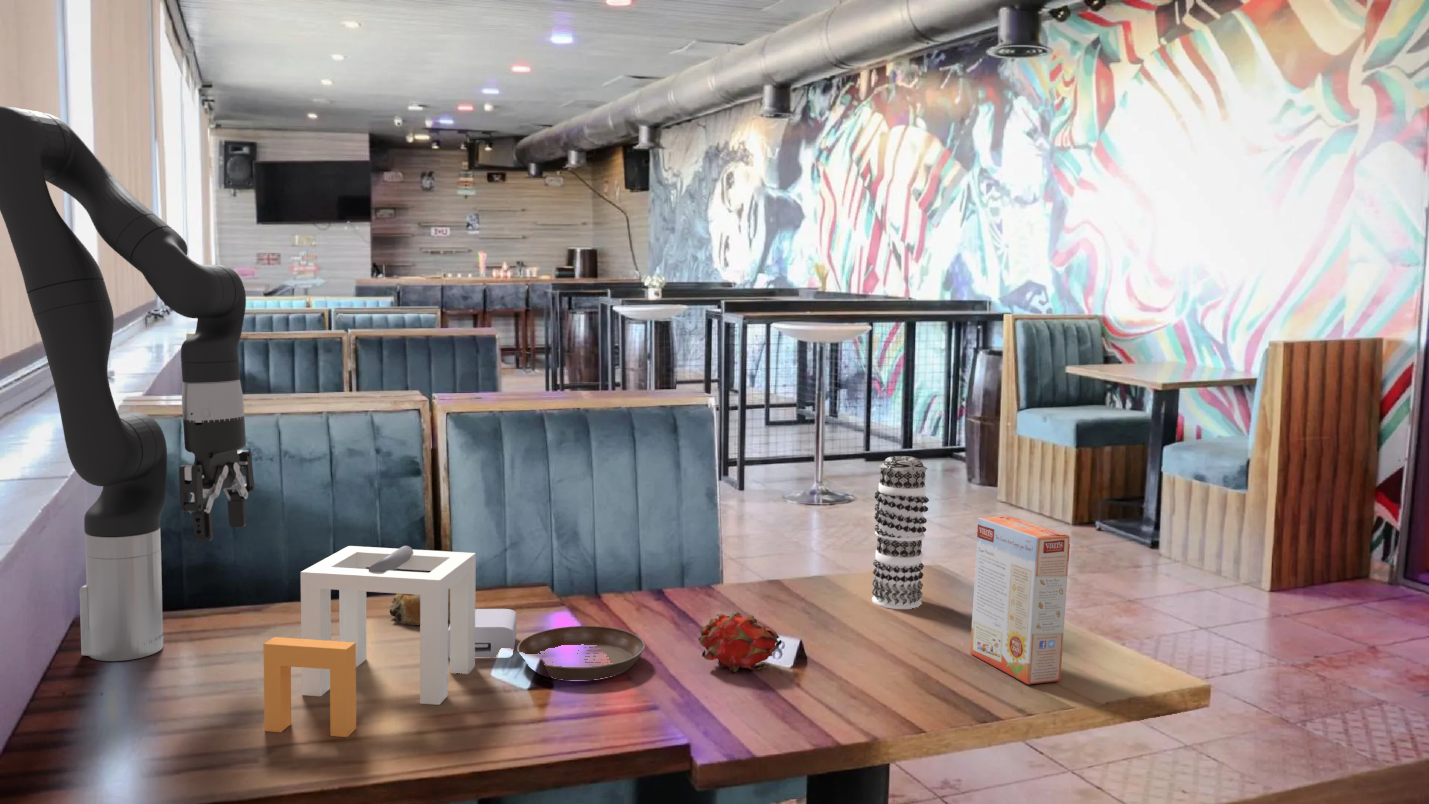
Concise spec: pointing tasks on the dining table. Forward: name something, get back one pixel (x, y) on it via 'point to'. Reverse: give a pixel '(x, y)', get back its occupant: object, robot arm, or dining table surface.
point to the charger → (492, 631)
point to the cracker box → (1020, 598)
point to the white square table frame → (432, 587)
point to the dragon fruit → (738, 642)
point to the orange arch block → (310, 655)
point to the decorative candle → (899, 533)
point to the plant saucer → (612, 641)
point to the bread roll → (409, 608)
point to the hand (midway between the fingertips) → (221, 533)
